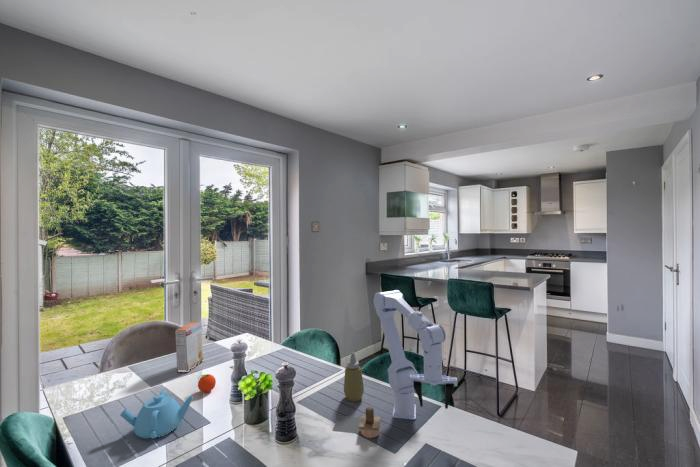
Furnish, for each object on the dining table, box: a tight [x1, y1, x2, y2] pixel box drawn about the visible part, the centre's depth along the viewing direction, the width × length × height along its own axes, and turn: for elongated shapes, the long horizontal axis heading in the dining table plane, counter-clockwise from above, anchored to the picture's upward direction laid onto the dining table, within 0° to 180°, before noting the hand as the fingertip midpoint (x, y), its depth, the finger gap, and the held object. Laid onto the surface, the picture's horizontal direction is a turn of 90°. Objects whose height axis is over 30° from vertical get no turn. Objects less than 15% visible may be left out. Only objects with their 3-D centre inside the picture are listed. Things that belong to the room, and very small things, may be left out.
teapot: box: [119, 390, 194, 440], centre depth 113 cm, size 15×17×11 cm
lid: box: [359, 406, 381, 432], centre depth 107 cm, size 6×6×5 cm
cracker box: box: [174, 321, 204, 371], centre depth 164 cm, size 14×6×21 cm, turn 175°
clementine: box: [197, 374, 217, 393], centre depth 139 cm, size 8×7×7 cm
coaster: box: [331, 415, 361, 434], centre depth 112 cm, size 9×9×1 cm
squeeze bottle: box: [343, 352, 365, 403], centre depth 129 cm, size 8×8×18 cm
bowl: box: [359, 427, 381, 439], centre depth 108 cm, size 6×6×3 cm
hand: (433, 406), depth 105 cm, fingers open, 7 cm apart
